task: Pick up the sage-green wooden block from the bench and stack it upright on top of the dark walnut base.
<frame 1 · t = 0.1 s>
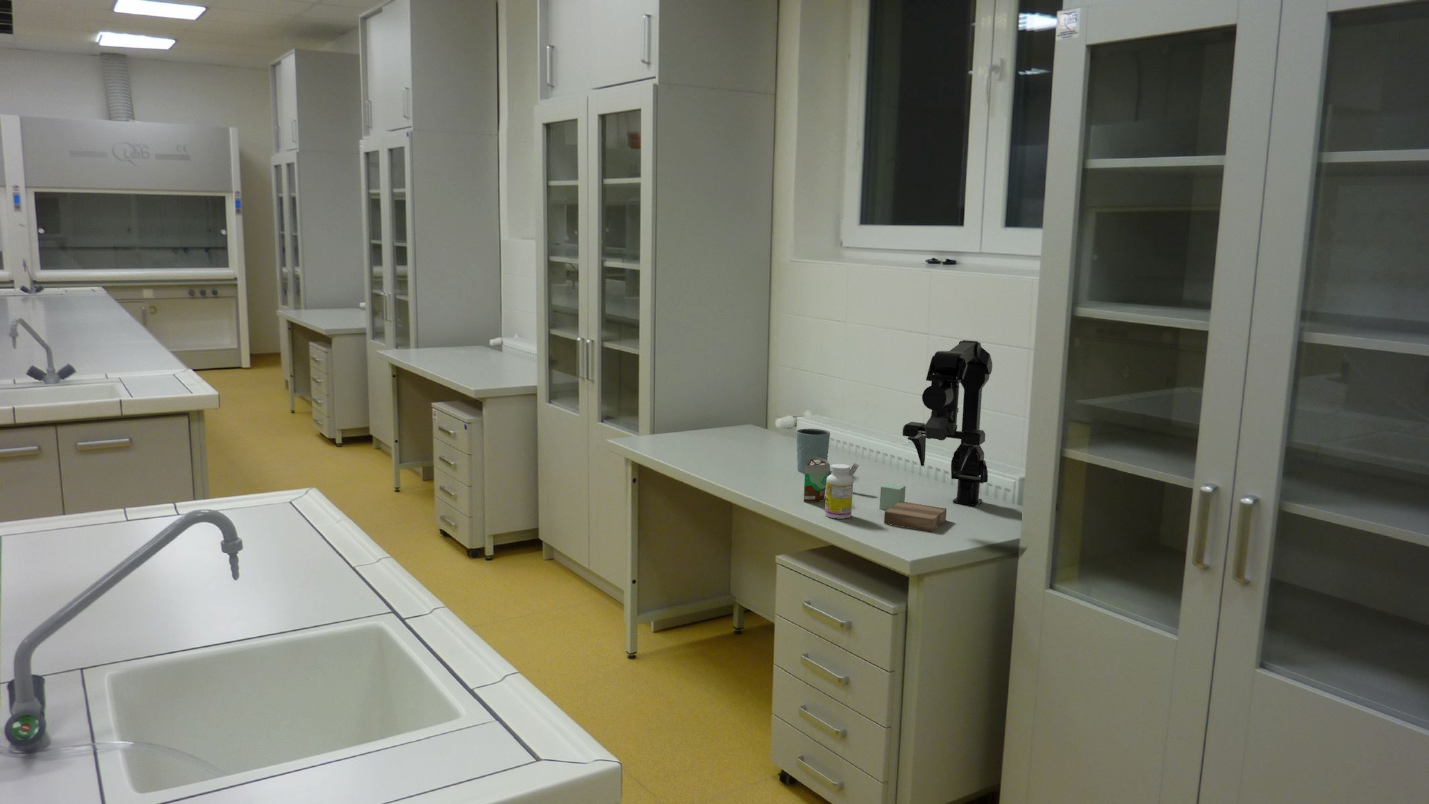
hand: (941, 468, 244), 15 cm above the table, tool pointing down, fingers open, 9 cm apart
supplement bottle: (837, 516, 253), on the table
walnut base: (915, 521, 250), on the table
green block: (891, 508, 262), on the table
food container: (817, 499, 269), on the table
lighter: (844, 491, 279), on the table
grey plant pot: (811, 471, 301), on the table
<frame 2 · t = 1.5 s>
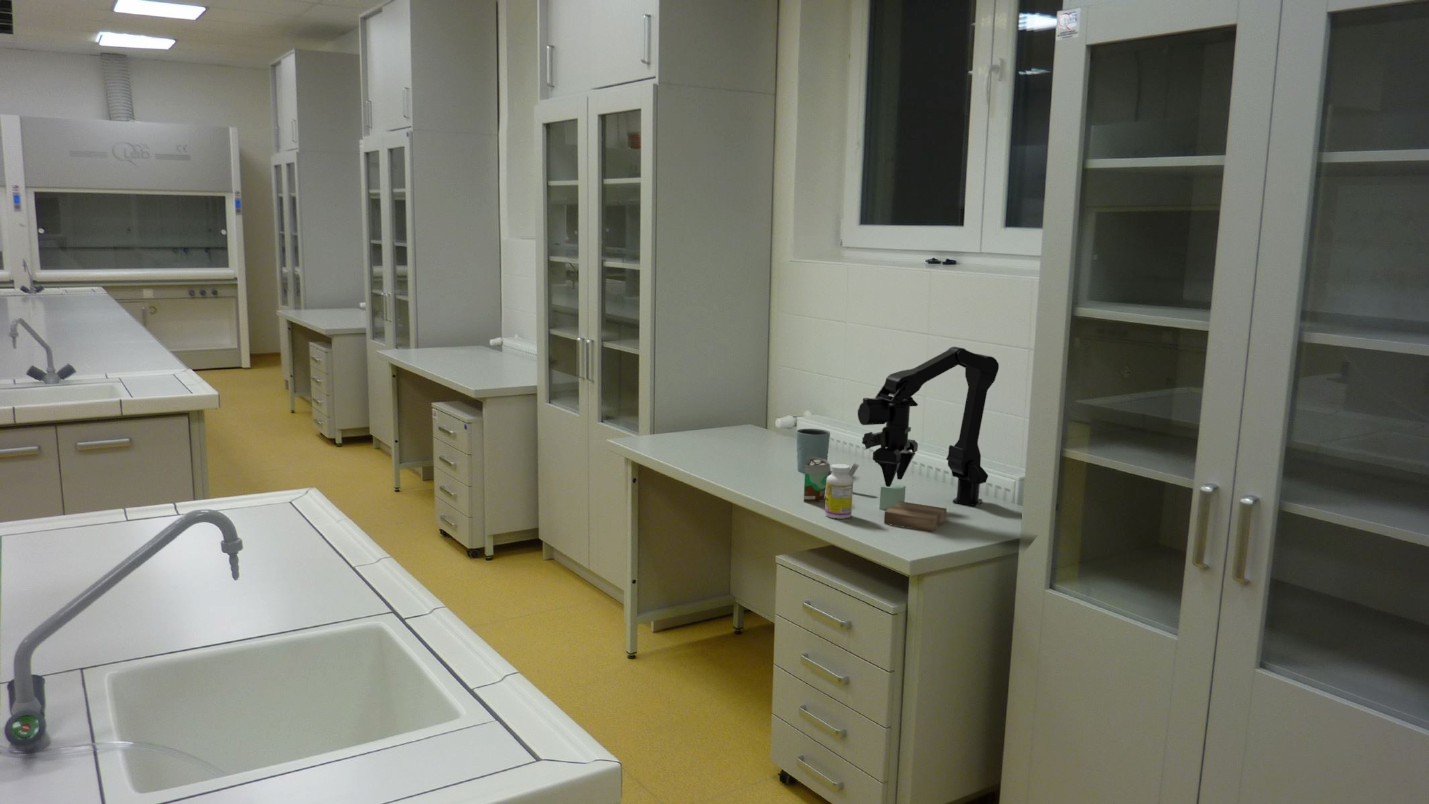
hand: (893, 482, 261), 7 cm above the table, tool pointing down, fingers open, 9 cm apart
nothing on the table moved.
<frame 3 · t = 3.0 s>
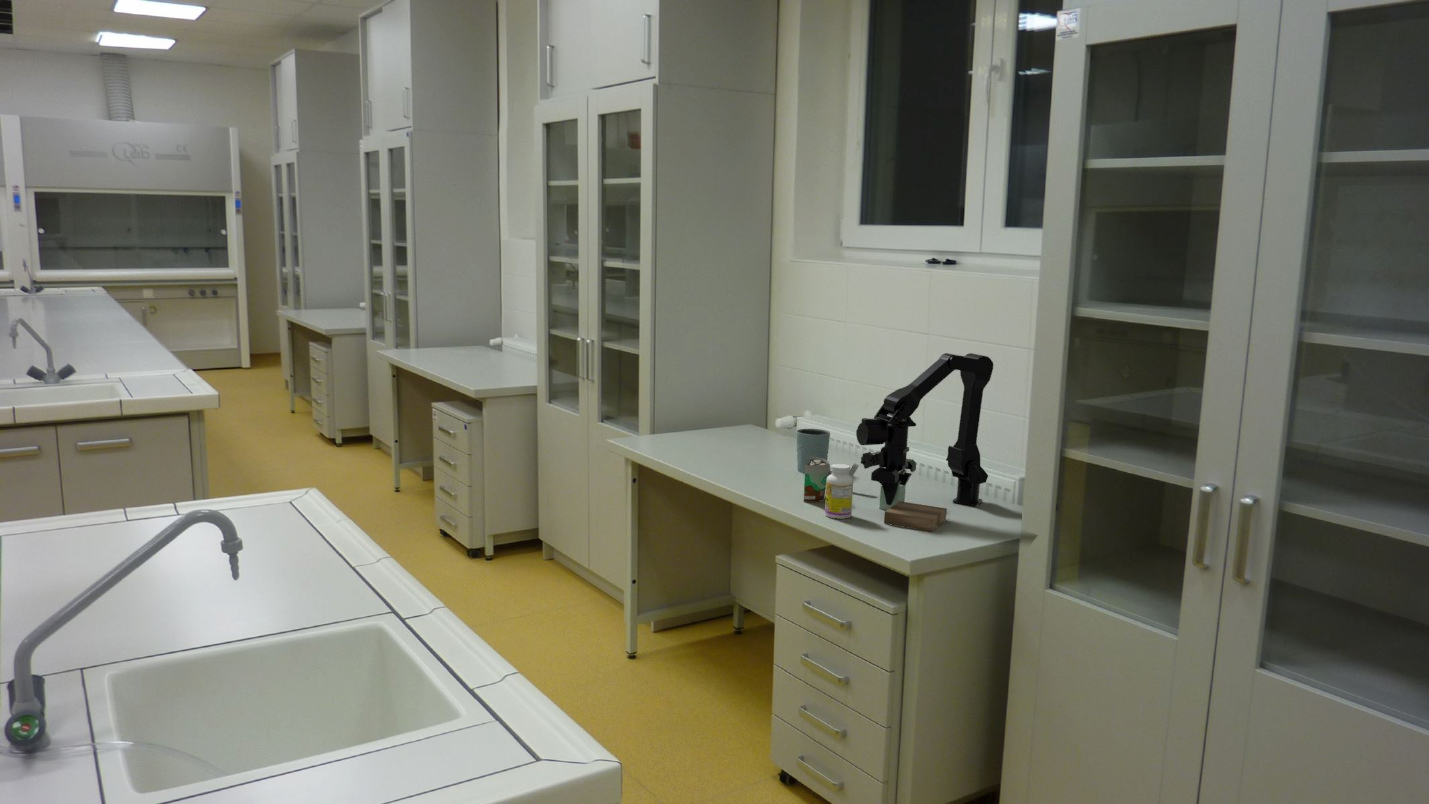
hand: (892, 502, 262), 2 cm above the table, tool pointing down, fingers closed on green block, 5 cm apart
green block: (891, 508, 262), on the table, touching gripper
everything else where it was.
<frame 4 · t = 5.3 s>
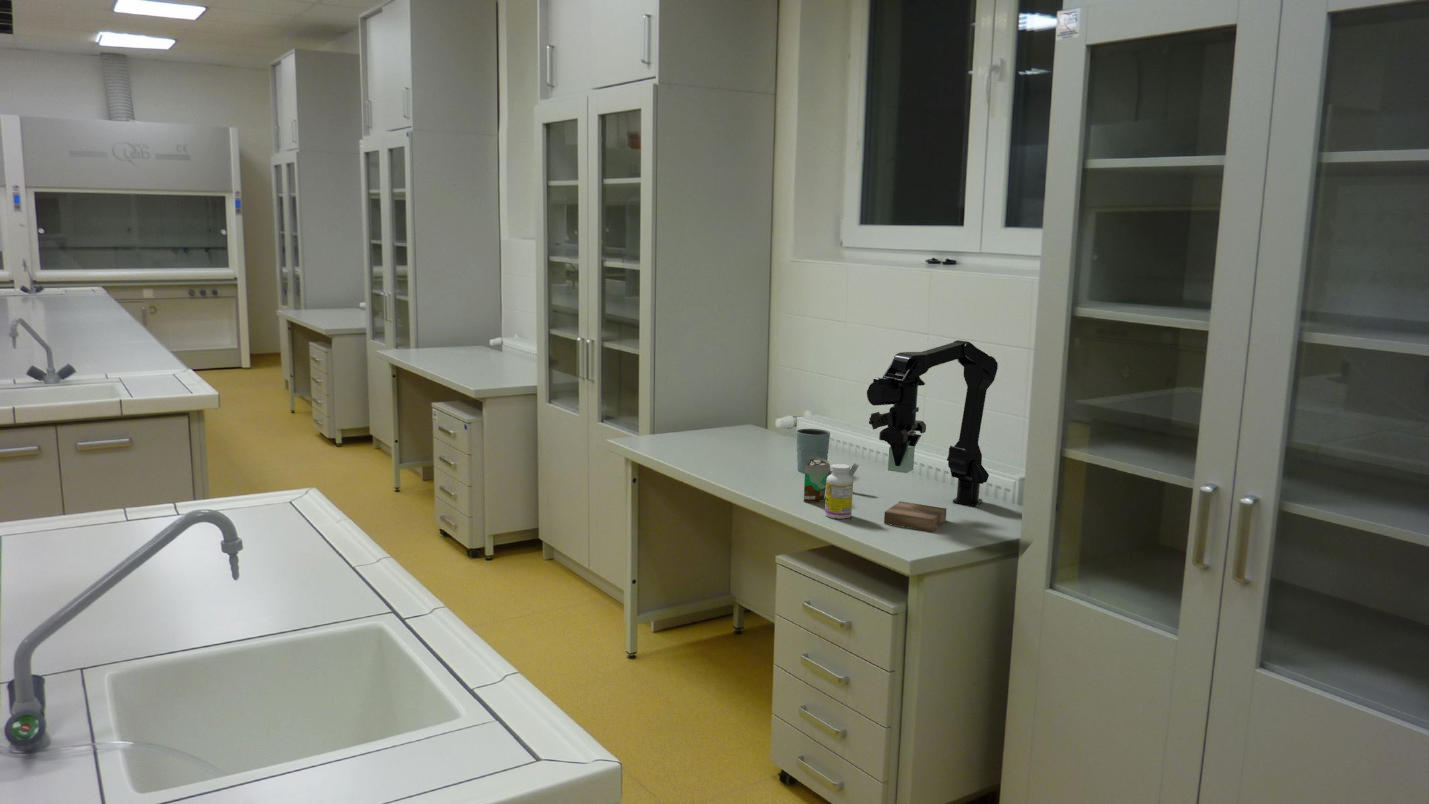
hand: (901, 464, 256), 13 cm above the table, tool pointing down, fingers closed on green block, 5 cm apart
green block: (900, 470, 257), point 11 cm above the table, touching gripper
everything else where it was.
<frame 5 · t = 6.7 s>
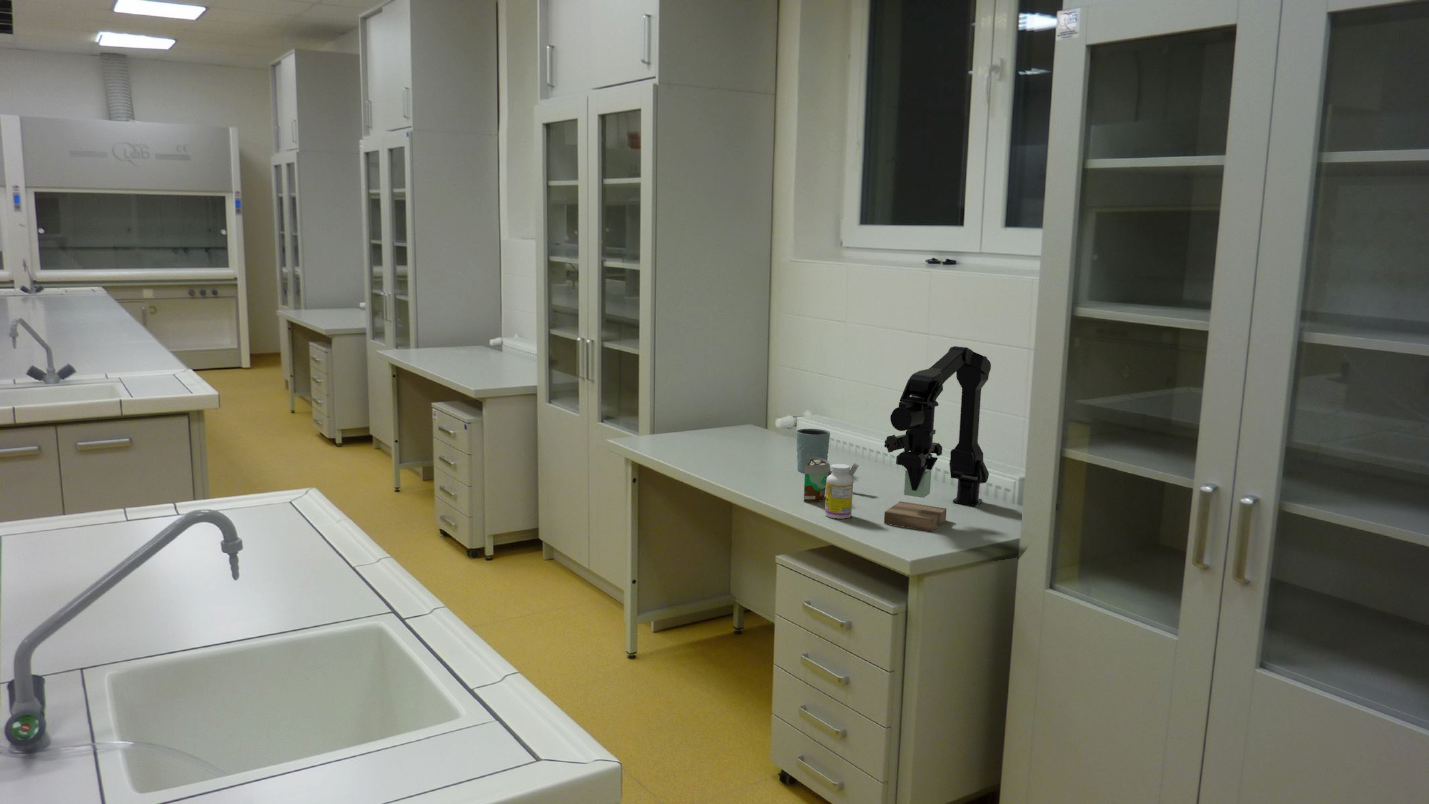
hand: (917, 488, 249), 9 cm above the table, tool pointing down, fingers closed on green block, 5 cm apart
green block: (916, 494, 249), point 7 cm above the table, touching gripper
everything else where it was.
when the fingers open (6 cm above the table, at t = 7.9 s): green block drops 1 cm, resting on walnut base.
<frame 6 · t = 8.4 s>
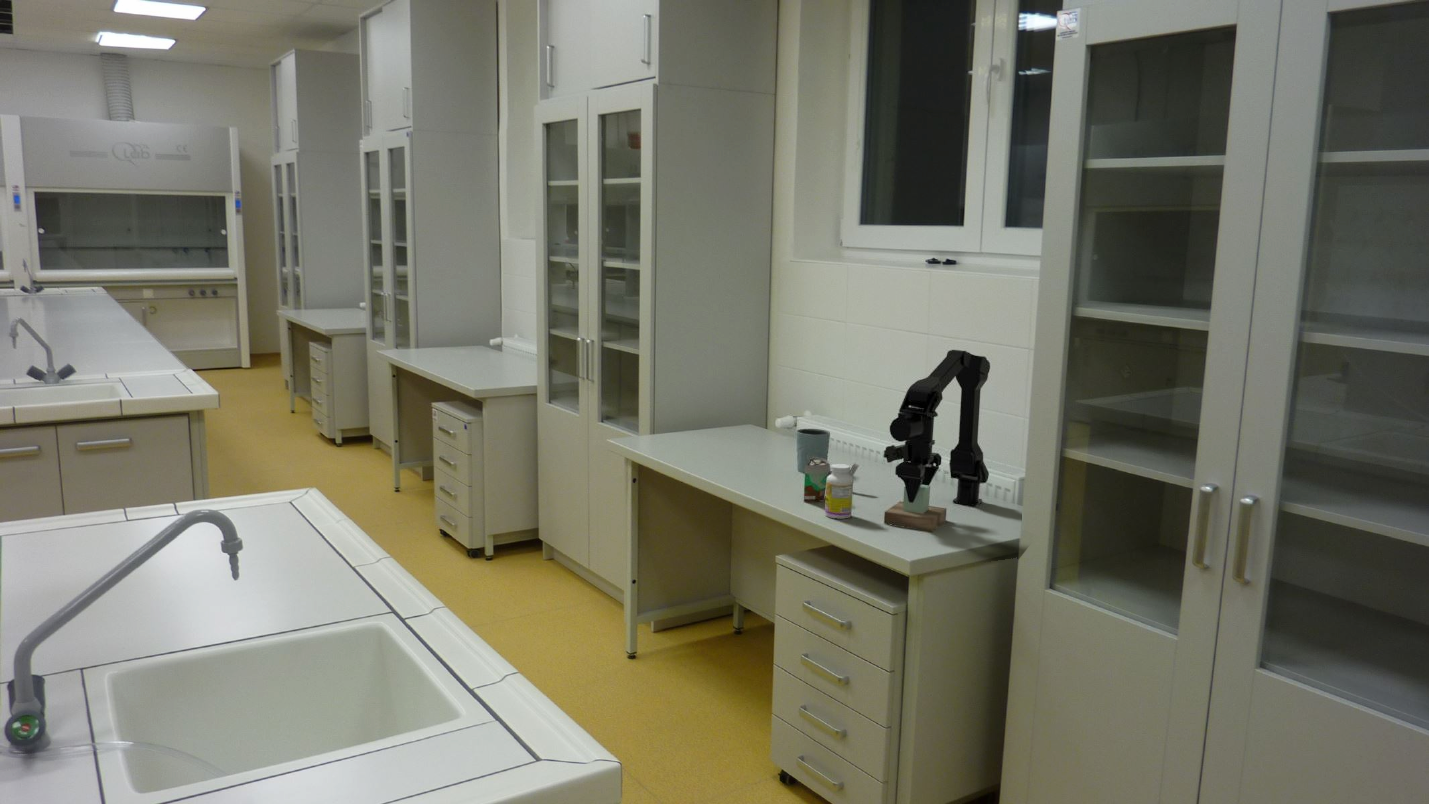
hand: (916, 498, 249), 6 cm above the table, tool pointing down, fingers open, 9 cm apart
green block: (915, 510, 249), point 3 cm above the table, touching walnut base
everything else where it was.
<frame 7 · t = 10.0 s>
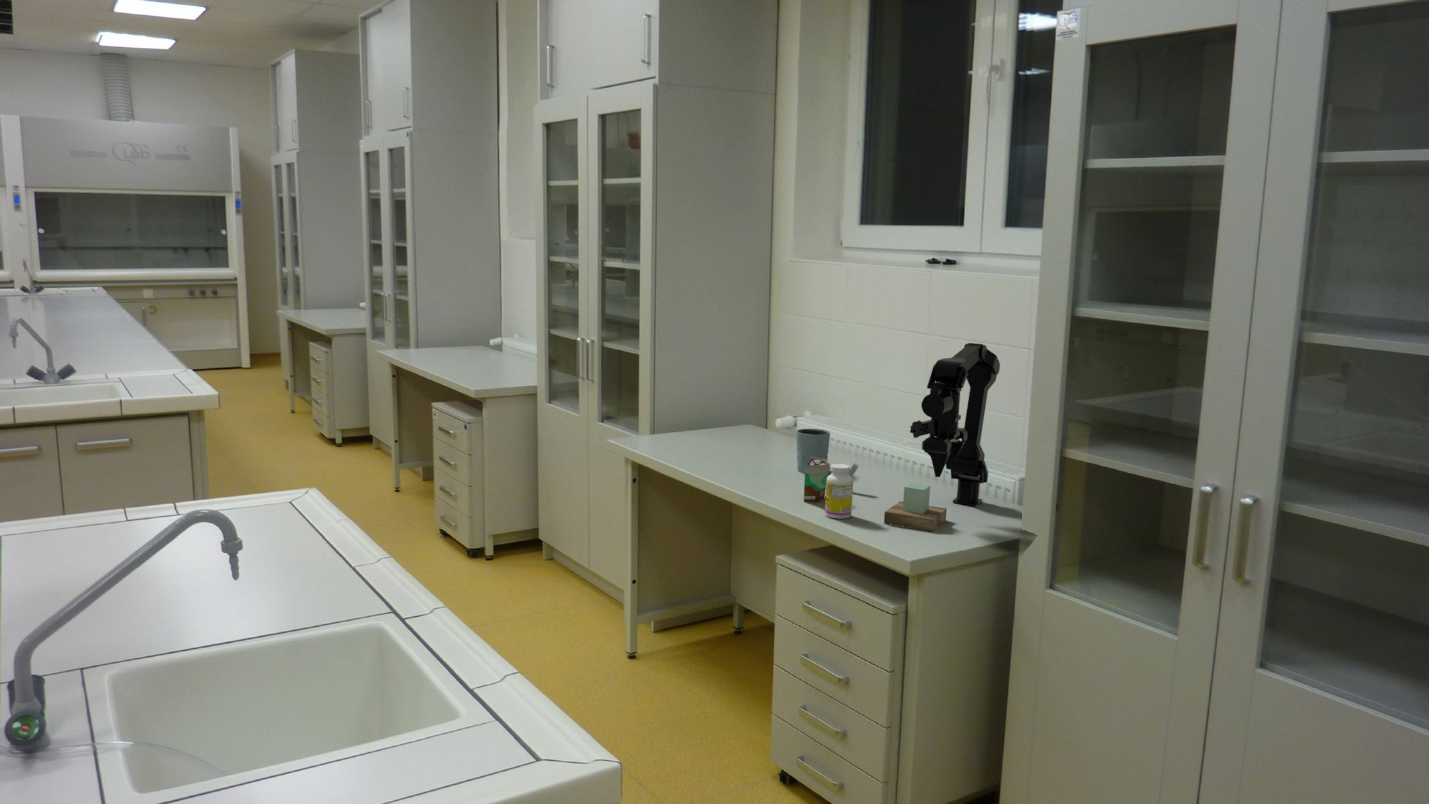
hand: (943, 472, 252), 12 cm above the table, tool pointing down, fingers open, 9 cm apart
nothing on the table moved.
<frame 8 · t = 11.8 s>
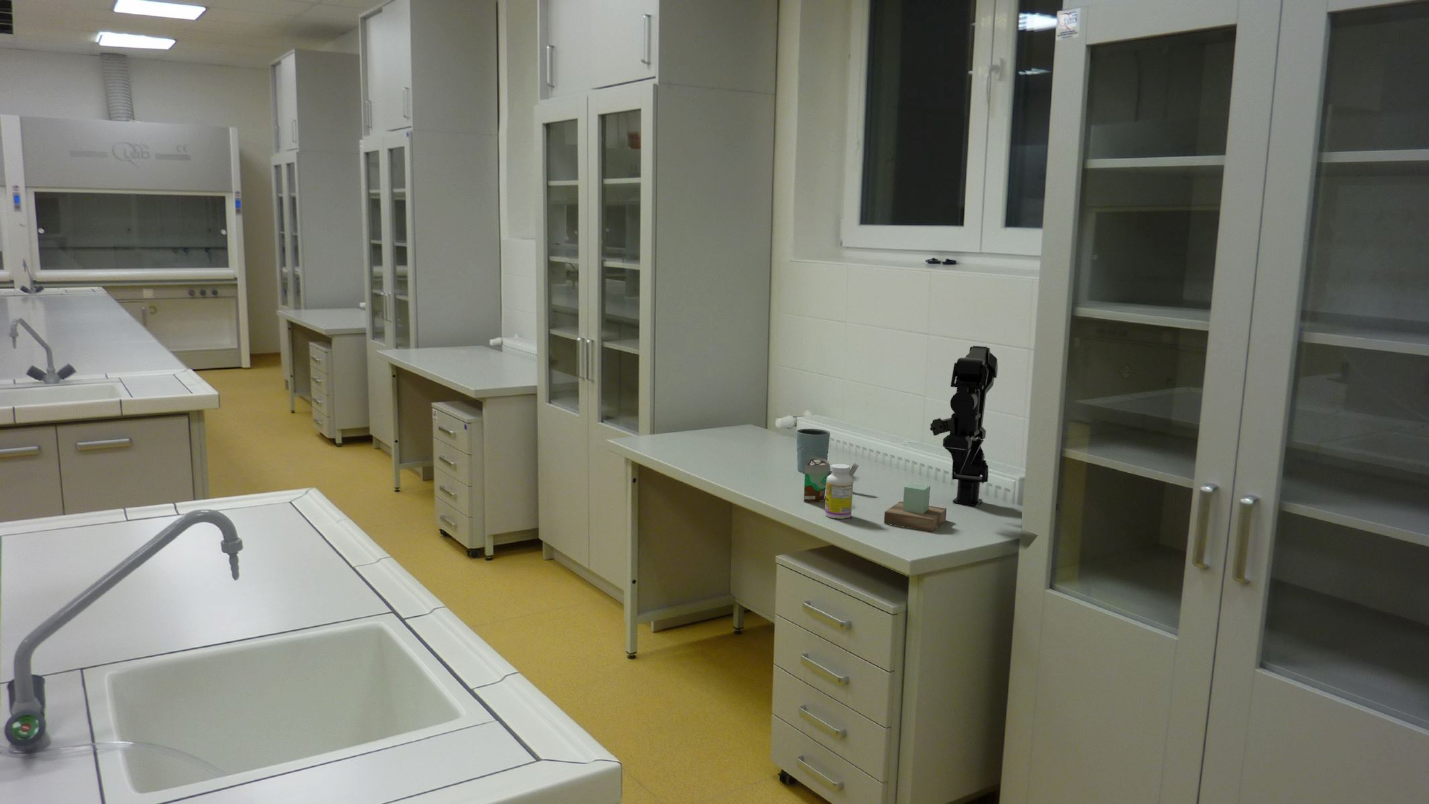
hand: (962, 470, 254), 12 cm above the table, tool pointing down, fingers open, 9 cm apart
nothing on the table moved.
at the end: green block inside the target area on the walnut base (0.1 cm from its centre), point 3.0 cm above the walnut base's base; green block tilted 0°; green block touching walnut base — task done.
